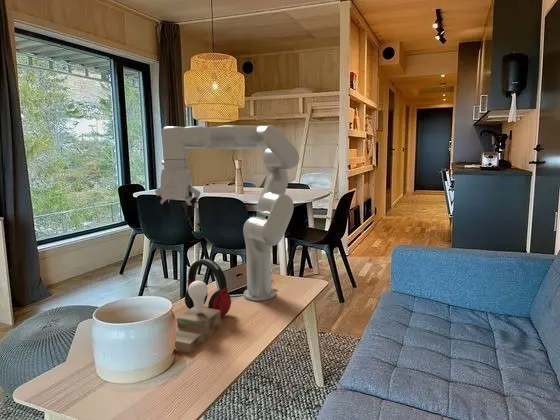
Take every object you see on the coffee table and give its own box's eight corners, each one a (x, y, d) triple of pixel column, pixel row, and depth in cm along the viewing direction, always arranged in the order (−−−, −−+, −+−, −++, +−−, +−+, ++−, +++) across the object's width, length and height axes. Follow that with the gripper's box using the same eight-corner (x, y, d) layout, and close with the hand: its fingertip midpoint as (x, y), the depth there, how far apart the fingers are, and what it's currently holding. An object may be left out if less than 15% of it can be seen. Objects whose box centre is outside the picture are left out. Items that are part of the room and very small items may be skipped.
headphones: (235, 314, 145) (234, 260, 141) (215, 324, 137) (213, 267, 134) (201, 303, 155) (199, 252, 152) (181, 312, 147) (178, 259, 144)
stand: (195, 322, 139) (194, 305, 138) (221, 327, 135) (220, 310, 134) (162, 347, 122) (160, 328, 121) (190, 353, 119) (189, 334, 118)
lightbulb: (211, 314, 130) (209, 282, 128) (192, 319, 128) (189, 286, 125) (206, 307, 136) (204, 276, 133) (188, 311, 133) (185, 279, 131)
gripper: (146, 165, 134) (150, 216, 136) (191, 165, 127) (194, 219, 130) (161, 163, 140) (164, 212, 143) (204, 164, 134) (206, 215, 137)
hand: (178, 215), depth 137 cm, fingers open, 9 cm apart
